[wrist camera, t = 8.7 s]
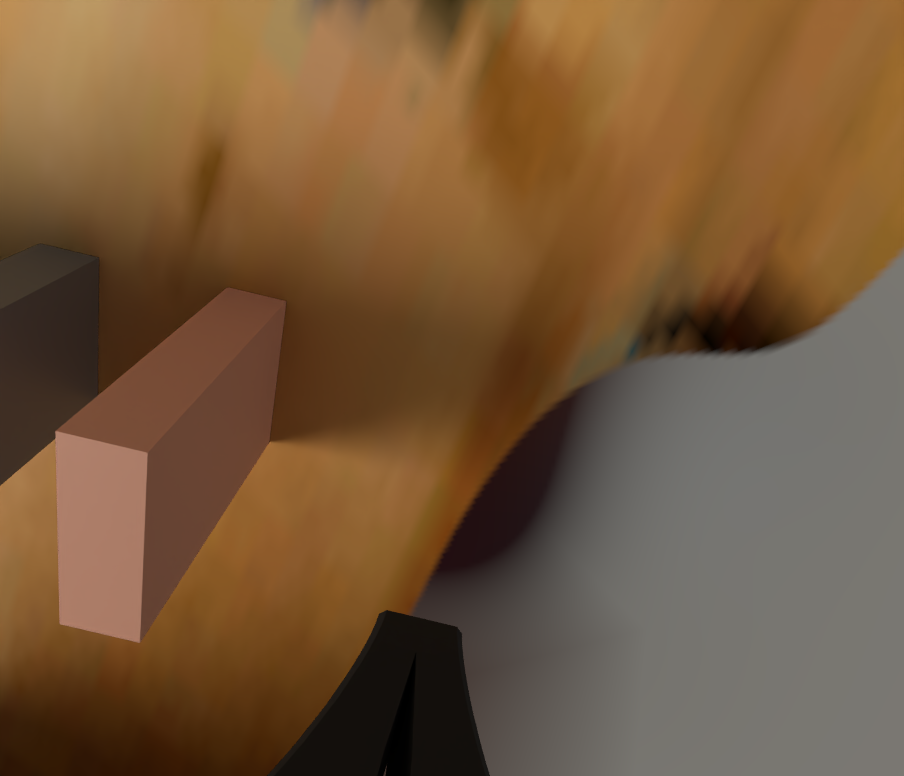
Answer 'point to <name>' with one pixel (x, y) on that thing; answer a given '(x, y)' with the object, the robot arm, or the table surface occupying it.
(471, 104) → the table surface
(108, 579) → the domino
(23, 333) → the domino
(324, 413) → the table surface
